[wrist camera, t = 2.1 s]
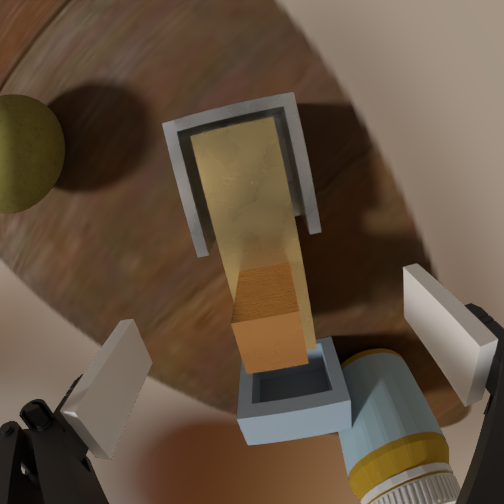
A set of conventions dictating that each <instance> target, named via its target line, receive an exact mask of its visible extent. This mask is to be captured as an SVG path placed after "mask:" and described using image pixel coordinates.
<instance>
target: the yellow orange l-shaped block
mask: <svg viewBox="0 0 504 504" xmlns="http://www.w3.org/2000/svg"><path fill="white" fill-rule="evenodd" d="M190 137H191V142H192V146H193V150H194V154H195V158H196V162H197V166H198V170H199V174H200V178H201V182H202V186H203V190H204V194H205V197H206V201H207V205H208V209H209V213H210V217H211V221H212V224H213V228H214V232H215V236H216V239H217V243H218V247H219V251H220V254H221V258H222V262H223V265H224V269H225V273H226V276H227V280H228V283H229V287H230V291H231V294H232V298H233V301H234V308H233V315H232V321H231V325H232V328H233V331H234V335H235V338H236V341H237V344H238V348H239V351H240V354H241V357H242V360H243V364H244V367H245V370H246V373H247V374H251V373H257V372H264V371H270V370H276V369H282V368H288V367H293V366H299V365H304V364H309V363H308V357H307V350H312V349H317V346H316V339H315V333H314V326H313V320H312V314H311V307H310V301H309V295H308V289H307V283H306V277H305V272H304V266H303V260H302V255H301V249H300V244H299V238H298V233H297V228H296V222H295V217H294V212H293V207H292V202H291V197H290V192H289V187H288V182H287V178H286V173H285V168H284V163H283V159H282V154H281V149H280V145H279V140H278V136H277V131H276V127H275V123H274V118H273V117H269V118H264V119H259V120H254V121H250V122H245V123H241V124H236V125H232V126H228V127H224V128H220V129H216V130H212V131H208V132H204V133H200V134H197V135H193V136H190Z"/></svg>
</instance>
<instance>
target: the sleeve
mask: <svg viewBox="0 0 504 504" xmlns="http://www.w3.org/2000/svg"><path fill="white" fill-rule="evenodd" d="M269 117H273V118H274V123H275V127H276V131H277V136H278V140H279V145H280V149H281V154H282V159H283V163H284V168H285V173H286V178H287V182H288V187H289V192H290V197H291V202H292V207H293V212H294V216H299V215H300V216H301V218H302V220H303V222H304V224H305V226H306V228H307V230H308V232H309V234H315V233H320V232H322V231H321V225H320V219H319V214H318V208H317V202H316V197H315V191H314V186H313V180H312V175H311V170H310V165H309V160H308V155H307V150H306V145H305V141H304V136H303V131H302V127H301V122H300V118H299V113H298V109H297V105H296V100H295V96H294V92H291V93H285V94H280V95H275V96H269V97H264V98H259V99H255V100H250V101H245V102H241V103H236V104H232V105H228V106H224V107H220V108H216V109H212V110H208V111H204V112H200V113H197V114H193V115H190V116H186V117H183V118H179V119H176V120H173V121H169V122H166V123H163V124H162V125H163V129H164V133H165V138H166V142H167V146H168V150H169V154H170V158H171V162H172V166H173V170H174V174H175V177H176V181H177V185H178V189H179V193H180V196H181V200H182V204H183V207H184V211H185V215H186V218H187V222H188V225H189V229H190V233H191V236H192V240H193V243H194V246H195V250H196V253H197V257H203V256H208V255H209V254H210V251H211V249H212V247H213V244H214V242H215V240H216V236H215V232H214V228H213V224H212V221H211V217H210V213H209V209H208V205H207V201H206V197H205V194H204V190H203V186H202V182H201V178H200V174H199V170H198V166H197V162H196V158H195V154H194V150H193V146H192V142H191V137H190V136H193V135H197V134H200V133H204V132H208V131H212V130H216V129H220V128H224V127H228V126H232V125H236V124H241V123H245V122H250V121H254V120H259V119H264V118H269Z"/></svg>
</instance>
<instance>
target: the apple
mask: <svg viewBox="0 0 504 504" xmlns="http://www.w3.org/2000/svg"><path fill="white" fill-rule="evenodd" d="M64 159H65V140H64V135H63V131H62V128H61V125H60V123H59V121H58V119H57V117H56V116H55V114H54V113H53V111H51V110H50V109H49V108H48V107H47V106H46V105H45V104H43V103H41V102H40V101H38V100H36V99H33V98H31V97H28V96H23V95H3V96H0V213H3V214H8V213H17V212H21V211H23V210H26V209H28V208H30V207H32V206H33V205H35V204H37V203H38V202H39V201H40V200H42V199H43V198H44V197H45V196H46V195H47V194H48V192H49V191H50V190H51V189H52V187H53V186H54V184H55V183H56V181H57V179H58V178H59V175H60V173H61V171H62V168H63V164H64Z"/></svg>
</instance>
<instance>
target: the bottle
mask: <svg viewBox="0 0 504 504" xmlns="http://www.w3.org/2000/svg"><path fill="white" fill-rule="evenodd" d="M340 366H341V370H342V373H343V376H344V379H345V383H346V386H347V389H348V393H349V396H350V399H351V425H352V428H350V429H346V430H341V431H338V432H339V437H340V441H341V446H342V451H343V455H344V460H345V465H346V470H347V475H348V479H349V483H350V486H351V489H352V491H353V492H354V493H355V494H356V496H357V497H358V499H359V500H360V501H361V504H455V503H456V501H457V498H458V496H459V493H460V491H461V489H460V486H459V484H458V482H457V479H456V477H455V476H454V475H453V471H452V469H451V466H450V465H449V447H448V444H447V442H446V439H445V437H444V435H443V433H442V431H441V429H440V427H439V425H438V423H437V421H436V419H435V417H434V415H433V413H432V411H431V409H430V407H429V405H428V403H427V401H426V399H425V397H424V396H423V394H422V392H421V390H420V388H419V386H418V384H417V383H416V381H415V379H414V377H413V375H412V373H411V372H410V370H409V368H408V366H407V364H406V363H405V361H404V360H403V358H402V357H401V355H399V354H398V353H396V352H395V351H393V350H389V349H382V348H378V349H370V350H365V351H362V352H359V353H357V354H355V355H353V356H352V357H350V358H348V359H347V360H346V361H345V362H343V363H342V364H341V365H340Z"/></svg>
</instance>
